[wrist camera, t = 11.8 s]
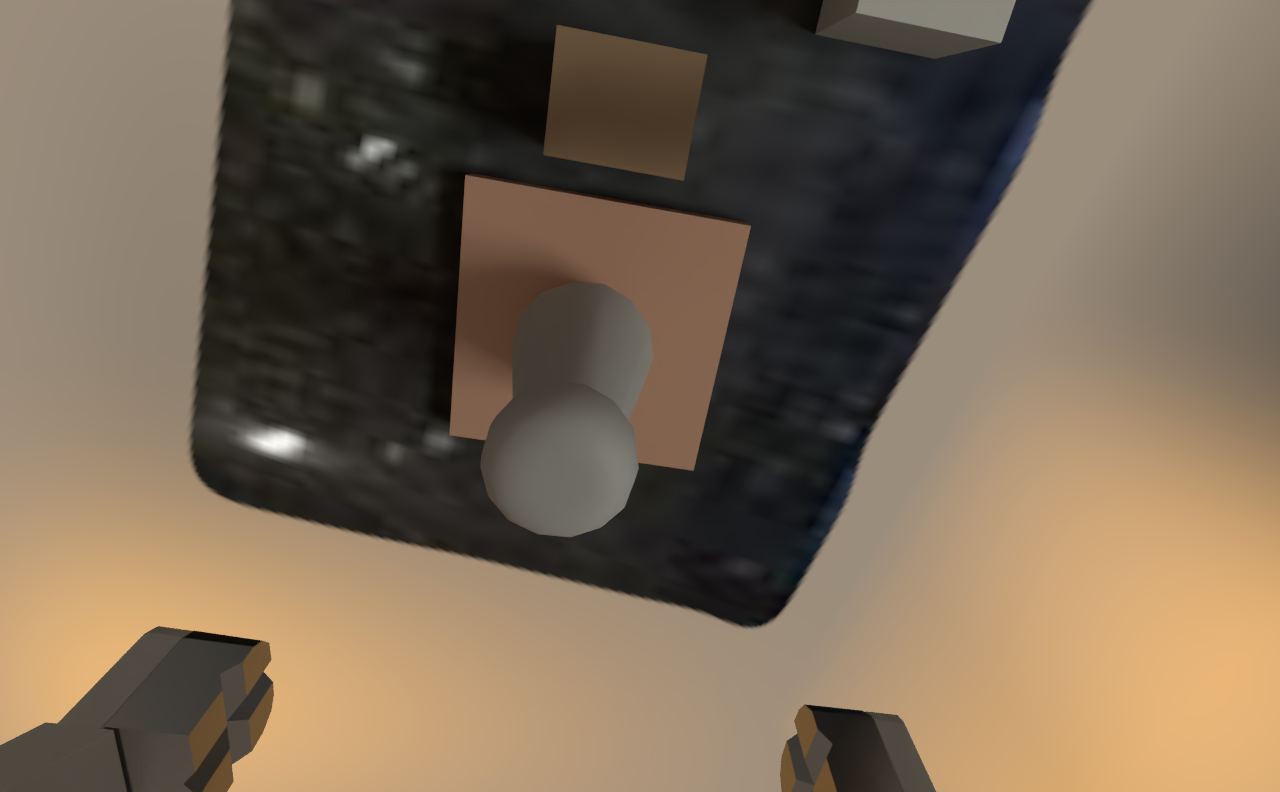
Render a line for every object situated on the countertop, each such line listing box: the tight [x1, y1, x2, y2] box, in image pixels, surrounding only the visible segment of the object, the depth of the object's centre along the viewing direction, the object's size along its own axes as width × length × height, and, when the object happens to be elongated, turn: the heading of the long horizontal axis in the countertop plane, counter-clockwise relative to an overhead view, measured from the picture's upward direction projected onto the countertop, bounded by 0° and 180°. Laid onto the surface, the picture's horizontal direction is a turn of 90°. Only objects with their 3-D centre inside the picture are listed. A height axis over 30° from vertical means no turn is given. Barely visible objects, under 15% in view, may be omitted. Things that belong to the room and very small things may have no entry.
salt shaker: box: [481, 282, 653, 537], centre depth 22 cm, size 6×6×13 cm
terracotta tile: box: [450, 173, 751, 470], centre depth 29 cm, size 12×12×1 cm
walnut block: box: [543, 25, 707, 181], centre depth 24 cm, size 4×5×5 cm
